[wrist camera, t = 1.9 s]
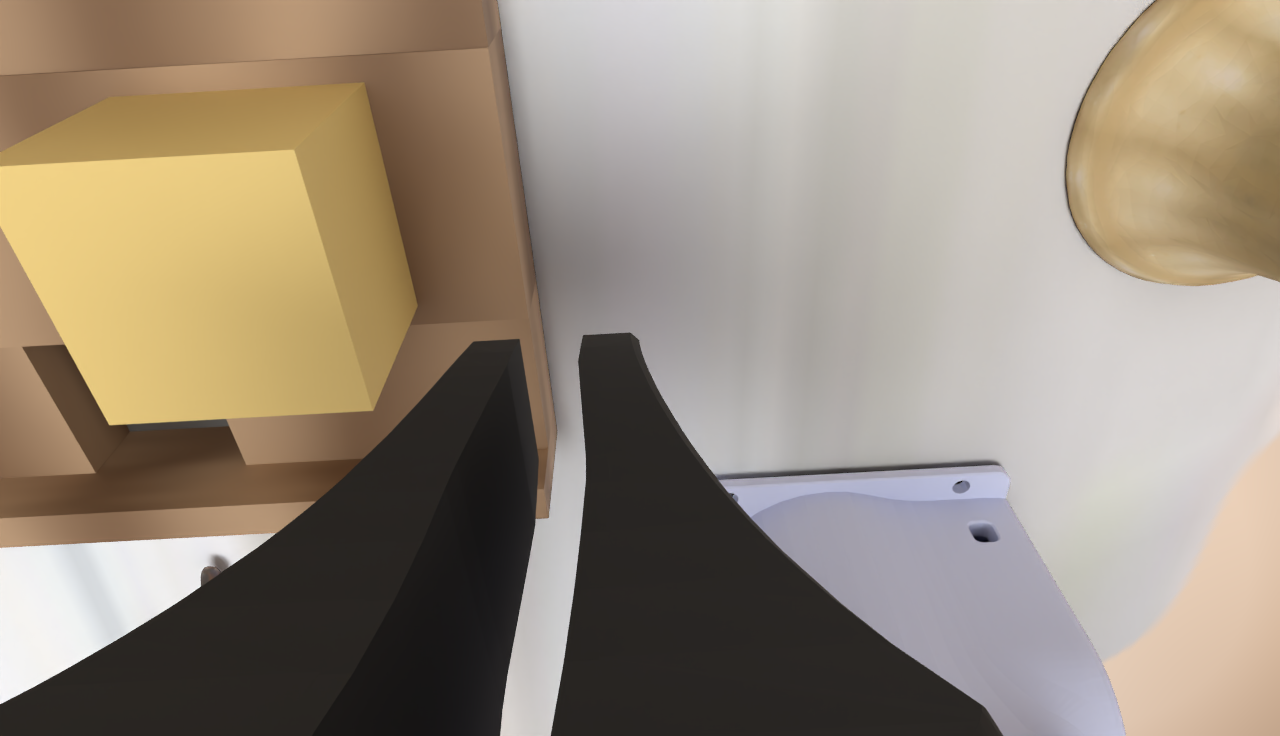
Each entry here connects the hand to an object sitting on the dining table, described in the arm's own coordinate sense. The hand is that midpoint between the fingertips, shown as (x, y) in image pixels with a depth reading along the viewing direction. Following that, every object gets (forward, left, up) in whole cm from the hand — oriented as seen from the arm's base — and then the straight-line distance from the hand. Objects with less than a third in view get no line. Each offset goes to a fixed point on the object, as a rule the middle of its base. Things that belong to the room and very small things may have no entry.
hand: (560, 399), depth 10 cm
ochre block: (+7, 0, -7) cm, 10 cm away
